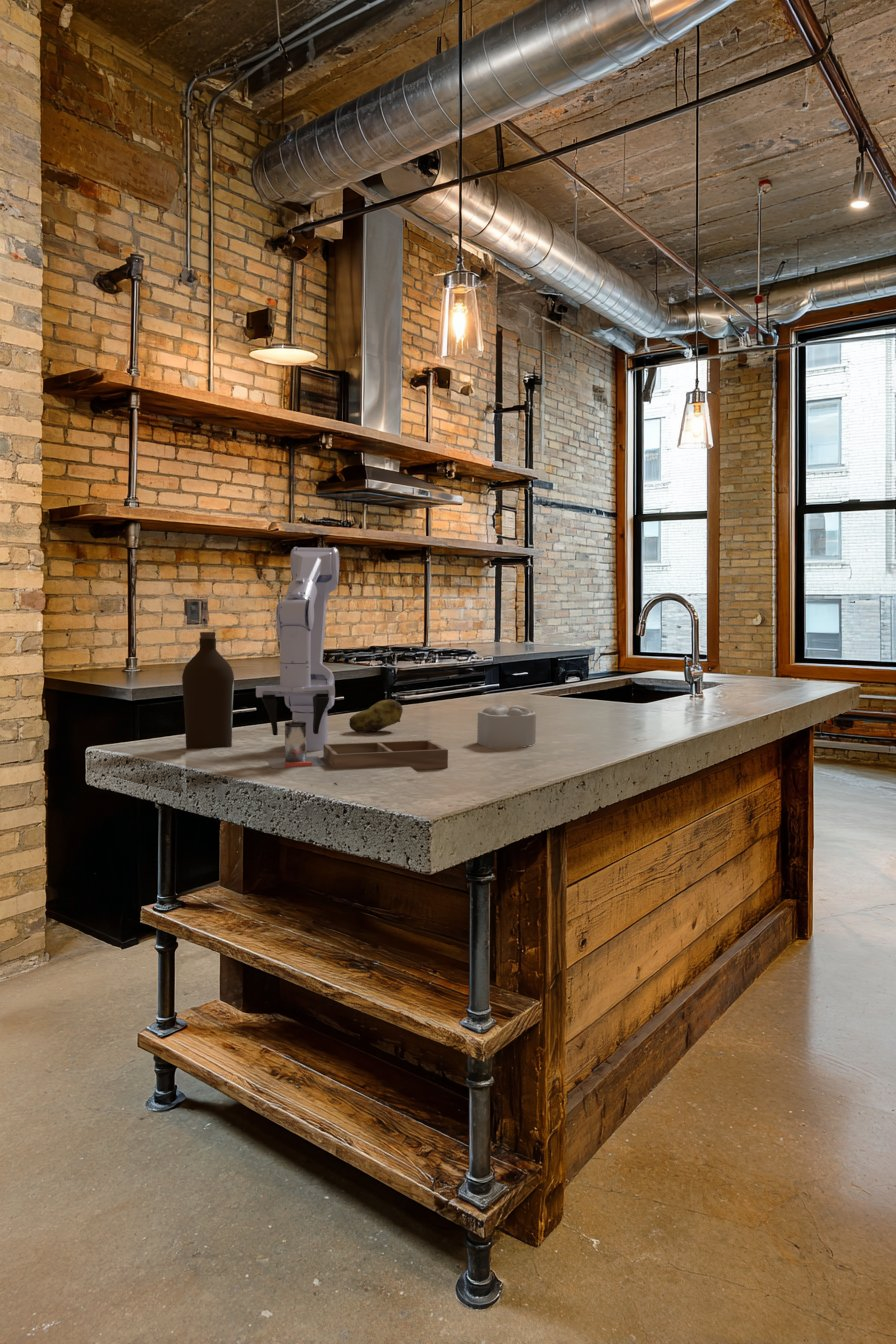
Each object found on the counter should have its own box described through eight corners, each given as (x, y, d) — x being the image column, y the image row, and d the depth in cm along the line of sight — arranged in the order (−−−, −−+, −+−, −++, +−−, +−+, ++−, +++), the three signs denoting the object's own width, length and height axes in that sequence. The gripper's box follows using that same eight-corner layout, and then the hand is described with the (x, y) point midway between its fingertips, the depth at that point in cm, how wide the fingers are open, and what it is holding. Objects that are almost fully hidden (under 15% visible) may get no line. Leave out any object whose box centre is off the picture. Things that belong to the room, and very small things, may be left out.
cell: (283, 760, 161) (283, 719, 160) (304, 759, 162) (304, 718, 161) (286, 764, 157) (286, 722, 156) (307, 763, 158) (307, 721, 158)
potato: (351, 729, 209) (351, 697, 209) (403, 729, 209) (403, 697, 209) (348, 734, 201) (348, 701, 200) (401, 734, 201) (401, 701, 200)
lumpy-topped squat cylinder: (473, 742, 192) (473, 704, 191) (523, 739, 196) (524, 702, 196) (491, 749, 182) (492, 710, 181) (544, 746, 187) (545, 708, 186)
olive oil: (195, 754, 171) (193, 633, 169) (175, 747, 179) (173, 631, 177) (243, 749, 178) (242, 632, 176) (222, 743, 186) (220, 631, 184)
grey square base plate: (266, 763, 163) (266, 755, 163) (317, 761, 166) (317, 753, 166) (271, 773, 153) (271, 765, 153) (326, 770, 156) (326, 762, 156)
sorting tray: (323, 761, 165) (323, 744, 165) (429, 756, 172) (429, 740, 172) (334, 773, 154) (334, 754, 154) (447, 767, 161) (447, 749, 160)
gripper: (258, 664, 152) (258, 738, 153) (337, 663, 156) (337, 735, 157) (254, 662, 159) (255, 732, 160) (330, 661, 163) (330, 730, 164)
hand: (295, 734), depth 159 cm, fingers open, 7 cm apart
